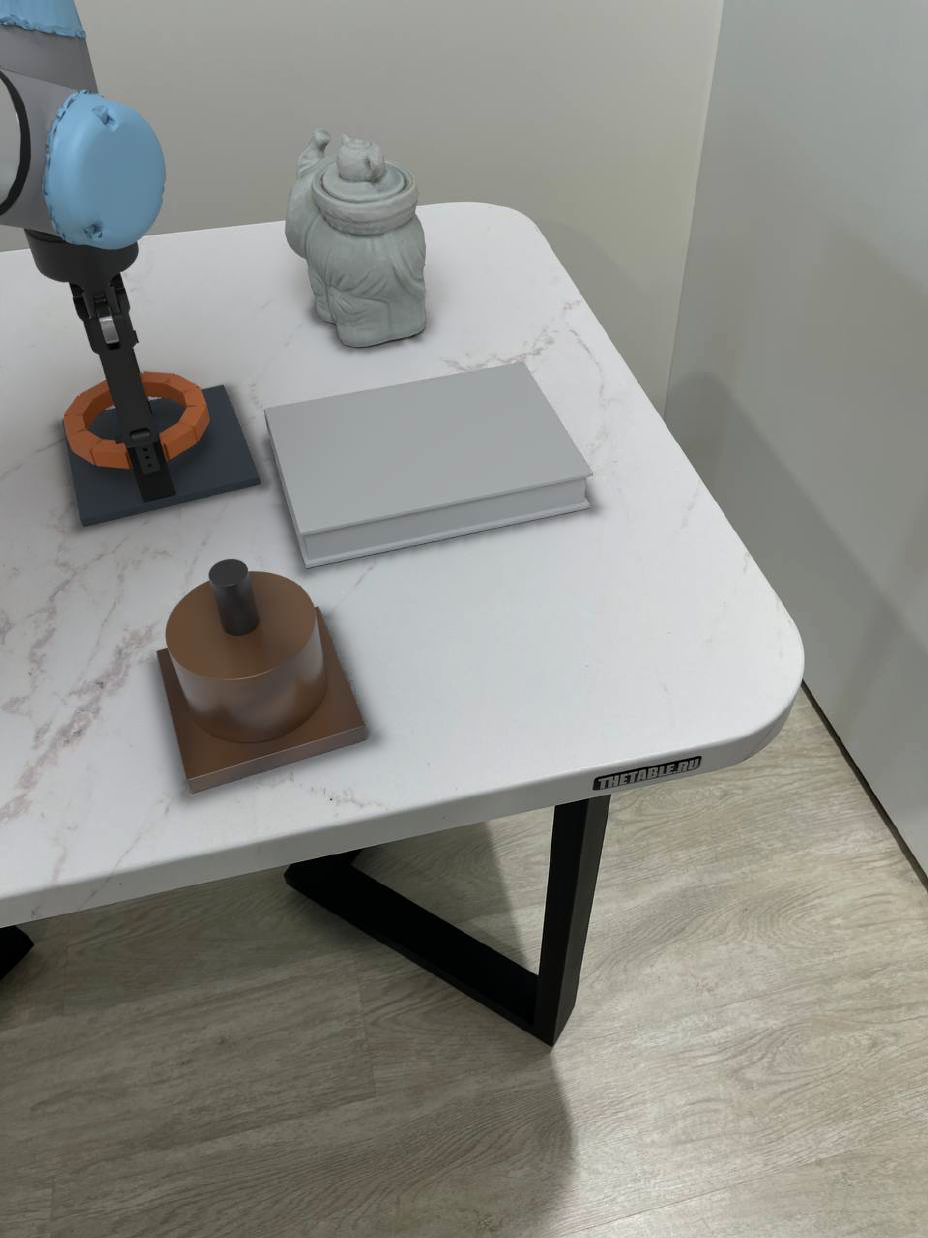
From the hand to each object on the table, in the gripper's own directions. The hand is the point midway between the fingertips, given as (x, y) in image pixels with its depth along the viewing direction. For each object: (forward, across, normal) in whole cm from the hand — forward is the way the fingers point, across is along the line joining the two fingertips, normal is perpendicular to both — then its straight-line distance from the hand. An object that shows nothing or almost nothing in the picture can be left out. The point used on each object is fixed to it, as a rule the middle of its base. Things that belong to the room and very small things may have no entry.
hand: (147, 453), depth 89 cm
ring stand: (+1, -30, -3) cm, 30 cm away
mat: (+1, +1, -1) cm, 2 cm away
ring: (-3, 0, 0) cm, 3 cm away
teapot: (+1, +18, -25) cm, 31 cm away
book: (+1, -10, -22) cm, 24 cm away
